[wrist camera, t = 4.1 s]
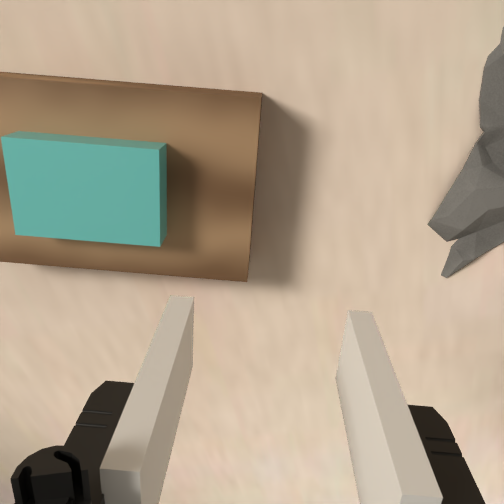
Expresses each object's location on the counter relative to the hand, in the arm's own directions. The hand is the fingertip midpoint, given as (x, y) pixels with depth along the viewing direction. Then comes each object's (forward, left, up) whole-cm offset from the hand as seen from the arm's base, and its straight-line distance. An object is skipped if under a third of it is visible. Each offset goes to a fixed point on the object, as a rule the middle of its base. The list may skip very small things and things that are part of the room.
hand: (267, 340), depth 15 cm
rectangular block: (0, +11, -15) cm, 19 cm away
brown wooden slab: (0, +11, -19) cm, 21 cm away
